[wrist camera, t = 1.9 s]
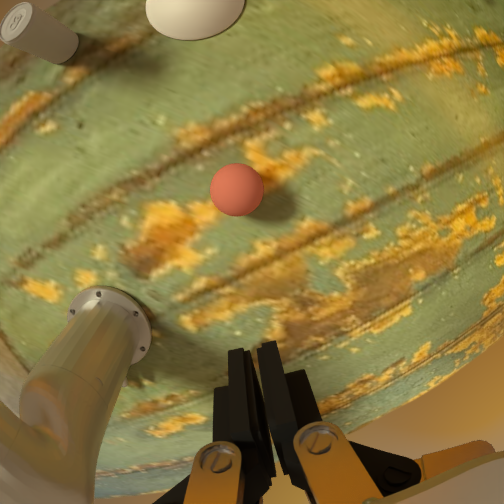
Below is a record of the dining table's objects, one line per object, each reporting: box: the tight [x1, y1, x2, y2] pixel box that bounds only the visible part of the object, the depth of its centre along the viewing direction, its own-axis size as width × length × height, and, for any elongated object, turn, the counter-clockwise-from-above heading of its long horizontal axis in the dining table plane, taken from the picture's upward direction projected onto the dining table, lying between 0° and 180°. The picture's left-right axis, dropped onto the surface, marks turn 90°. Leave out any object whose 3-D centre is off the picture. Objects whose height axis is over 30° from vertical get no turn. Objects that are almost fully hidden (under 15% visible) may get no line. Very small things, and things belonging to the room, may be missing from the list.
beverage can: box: [0, 2, 79, 64], centre depth 22 cm, size 5×5×12 cm
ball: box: [210, 163, 264, 216], centre depth 33 cm, size 6×6×6 cm
